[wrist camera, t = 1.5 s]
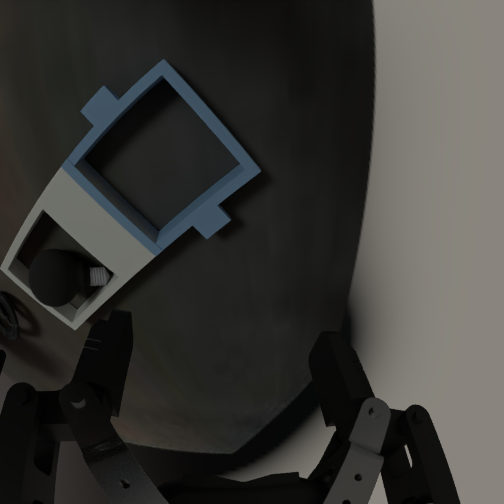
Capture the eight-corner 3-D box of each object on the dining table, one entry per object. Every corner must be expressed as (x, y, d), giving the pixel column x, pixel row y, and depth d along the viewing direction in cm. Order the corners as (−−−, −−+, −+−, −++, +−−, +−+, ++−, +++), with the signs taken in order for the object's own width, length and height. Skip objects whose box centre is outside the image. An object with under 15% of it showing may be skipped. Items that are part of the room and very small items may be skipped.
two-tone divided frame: (-2, 247, 26) (-11, 258, 24) (153, 47, 19) (148, 43, 17) (91, 325, 35) (86, 339, 33) (268, 178, 28) (274, 187, 26)
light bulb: (114, 315, 29) (30, 319, 23) (107, 287, 34) (34, 290, 28) (114, 261, 27) (21, 263, 21) (107, 239, 32) (30, 241, 26)
